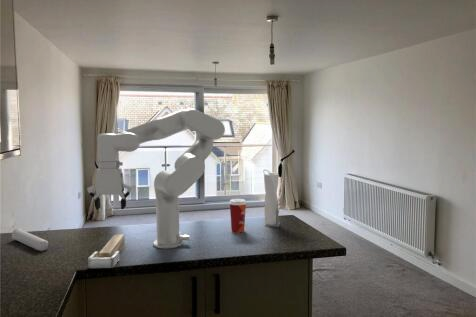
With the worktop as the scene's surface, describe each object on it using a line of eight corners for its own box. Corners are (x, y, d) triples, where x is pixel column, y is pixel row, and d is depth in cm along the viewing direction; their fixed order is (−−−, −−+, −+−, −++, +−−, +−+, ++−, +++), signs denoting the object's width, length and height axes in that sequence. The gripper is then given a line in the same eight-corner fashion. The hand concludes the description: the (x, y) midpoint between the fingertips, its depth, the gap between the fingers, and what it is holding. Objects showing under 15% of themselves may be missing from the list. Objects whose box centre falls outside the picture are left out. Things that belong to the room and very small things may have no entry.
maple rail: (124, 245, 160) (124, 234, 160) (110, 265, 138) (109, 252, 138) (115, 246, 160) (114, 234, 159) (99, 266, 138) (98, 253, 138)
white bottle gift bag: (262, 226, 188) (262, 170, 185) (263, 221, 195) (263, 168, 192) (279, 227, 186) (279, 170, 183) (279, 222, 194) (280, 168, 191)
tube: (52, 240, 155) (25, 228, 170) (39, 239, 151) (13, 227, 166) (49, 253, 154) (22, 240, 170) (36, 252, 150) (9, 239, 165)
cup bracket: (119, 260, 143) (119, 251, 143) (113, 267, 136) (113, 258, 135) (95, 260, 143) (95, 251, 143) (88, 268, 136) (87, 258, 135)
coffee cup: (246, 233, 175) (246, 202, 174) (228, 233, 176) (228, 202, 174) (246, 228, 184) (246, 198, 182) (229, 228, 184) (229, 198, 182)
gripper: (133, 163, 150) (135, 206, 151) (89, 164, 149) (91, 206, 151) (128, 166, 142) (130, 210, 144) (82, 166, 142) (84, 211, 144)
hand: (110, 208), depth 147 cm, fingers open, 9 cm apart
